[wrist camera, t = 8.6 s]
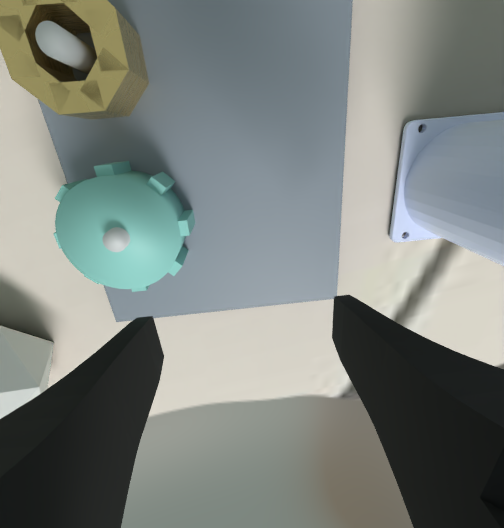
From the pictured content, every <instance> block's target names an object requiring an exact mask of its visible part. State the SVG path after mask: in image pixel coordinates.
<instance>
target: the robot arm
mask: <svg viewBox="0 0 504 528" xmlns="http://www.w3.org/2000/svg"><path fill="white" fill-rule="evenodd" d="M420 125H422V127H423V128H422V131H421V132H420V133H419V131H418V128H419V126H420ZM404 232H406V235H405V236H404V237H402V234H403V233H404ZM435 238H444V239H446V240H448V241H450V242H453V243H455V244H457V245H459V246H461V247H463V248H465V249H468V250H470V251H472V252H474V253H476V254H478V255H481V256H483V257H485V258H487V259H489V260H491V261H493V262H496V263H498V264H500V265H502V266H504V112H498V113H487V114H476V115H465V116H454V117H443V118H432V119H421V120H412V121H409V122H408V123H407V124H406V125H405V126H404V130H403V137H402V144H401V152H400V160H399V167H398V175H397V182H396V190H395V197H394V205H393V213H392V220H391V228H390V239H391V240H392V241H394V242H406V241H416V240H425V239H435ZM332 338H333V341H334V344H335V347H336V350H337V352H338V355H339V358H340V360H341V362H342V364H343V366H344V368H345V370H346V372H347V374H348V376H349V378H350V380H351V381H352V383H353V385H354V387H355V389H356V391H357V393H358V395H359V397H360V398H361V400H362V402H363V404H364V406H365V408H366V410H367V412H368V414H369V416H370V418H371V420H372V422H373V424H374V426H375V429H376V431H377V434H378V436H379V438H380V441H381V443H382V446H383V448H384V451H385V453H386V456H387V458H388V460H389V463H390V466H391V468H392V471H393V473H394V476H395V479H396V481H397V484H398V486H399V489H400V492H401V494H402V497H403V500H404V503H405V505H406V508H407V510H408V513H409V516H410V519H411V522H412V524H413V527H414V528H504V369H500V368H498V367H495V366H492V365H489V364H487V363H484V362H481V361H479V360H476V359H473V358H470V357H468V356H465V355H463V354H460V353H458V352H455V351H453V350H451V349H449V348H446V347H444V346H442V345H440V344H437V343H435V342H433V341H431V340H429V339H427V338H425V337H422V336H421V335H419V334H417V333H415V332H413V331H411V330H409V329H407V328H405V327H403V326H402V325H400V324H398V323H396V322H394V321H393V320H391V319H389V318H388V317H386V316H384V315H382V314H381V313H379V312H377V311H376V310H374V309H373V308H371V307H369V306H368V305H366V304H364V303H363V302H361V301H359V300H358V299H356V298H354V297H352V296H350V295H344V296H335V297H334V311H333V331H332ZM163 359H164V355H163V351H162V348H161V344H160V340H159V337H158V333H157V330H156V326H155V323H154V319H153V316H147V317H138V318H136V319H134V320H133V321H132V322H131V323H129V324H128V325H127V326H126V327H125V328H123V329H122V330H121V331H120V332H119V333H118V334H117V335H115V336H114V337H113V338H112V339H111V340H110V341H108V342H107V343H106V344H105V345H104V346H103V347H101V348H100V349H99V350H98V351H97V352H96V353H94V354H93V355H92V356H91V357H89V358H88V359H87V360H85V361H84V362H83V363H82V364H80V365H79V366H78V367H77V368H75V369H74V370H73V371H72V372H70V373H69V374H68V375H66V376H65V377H64V378H62V379H61V380H60V381H58V382H57V383H55V384H54V385H52V386H51V387H50V388H48V389H47V390H45V391H44V392H42V393H41V394H39V395H38V396H36V397H35V398H33V399H32V400H30V401H29V402H27V403H25V404H24V405H22V406H20V407H19V408H17V409H16V410H14V411H12V412H11V413H9V414H7V415H6V416H4V417H3V418H1V419H0V528H121V523H122V518H123V514H124V509H125V503H126V499H127V494H128V489H129V484H130V480H131V475H132V471H133V466H134V462H135V458H136V453H137V450H138V446H139V443H140V439H141V436H142V433H143V430H144V427H145V424H146V421H147V418H148V415H149V412H150V409H151V406H152V403H153V400H154V396H155V393H156V390H157V387H158V384H159V380H160V375H161V370H162V365H163Z"/></svg>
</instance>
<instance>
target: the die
mask: <svg viewBox="0 0 504 528" xmlns="http://www.w3.org/2000/svg"><path fill="white" fill-rule="evenodd" d="M53 345H54V342H51V341H48V340H45V339H41V338H38V337H35V336H32V335H29V334H26V333H22V332H19V331H16V330H13V329H10V328H6V327H3V326H0V419H1V418H3V417H4V416H6V415H7V414H9V413H11V412H12V411H14V410H16V409H17V408H19V407H20V406H22V405H24V404H25V403H27V402H29V401H30V400H32V399H33V398H35V397H36V396H38V395H39V394H41V393H42V392H44V391H45V390H47V388H48V381H49V374H50V367H51V360H52V353H53Z"/></svg>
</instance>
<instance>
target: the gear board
mask: <svg viewBox="0 0 504 528" xmlns="http://www.w3.org/2000/svg"><path fill="white" fill-rule="evenodd" d="M108 1H109V2H110V3H111V4H112V5H113V6H114V7H115V8H116V9H117V10H118V11H119V13H120V14H121V15H122V16H123V17H124V18H125V19H126V20H127V22H128V23H129V24H130V25H131V26H132V27H133V28H134V30H135V31H136V32H137V33H138V34H139V35H140V39H141V44H142V49H143V54H144V59H145V64H146V69H147V74H148V80H149V85H148V86H147V88H146V90H145V91H144V93H143V95H142V96H141V98H140V100H139V101H138V103H137V104H136V106H135V108H134V109H133V111H132V113H131V114H130V116H128V117H116V118H104V119H85V118H78V117H71V116H65V115H59V114H57V113H56V112H55V111H53V110H52V109H51V108H49V107H48V106H47V105H46V104H44V103H43V102H42V101H40V100H39V99H38V101H39V104H40V106H41V109H42V112H43V115H44V118H45V121H46V123H47V126H48V129H49V132H50V135H51V138H52V140H53V143H54V146H55V149H56V152H57V155H58V157H59V160H60V163H61V166H62V169H63V172H64V174H65V177H66V180H67V183H68V184H65V185H62V187H61V189H60V190H59V192H58V194H57V196H56V197H55V199H56V200H58V201H59V202H60V204H59V206H58V210H57V213H56V220H55V225H56V232H55V233H54V236H55V238H56V241H57V243H58V246H59V248H62V250H63V252H64V254H65V255H66V257H67V258H68V259H69V261H70V262H71V263H72V264H73V265H74V266H75V267H76V268H77V269H78V270H79V271H80V272H81V273H83V274H84V276H85V277H87V278H88V279H90V280H92V281H94V282H95V283H97V284H99V283H100V284H103V285H104V288H105V291H106V294H107V296H108V299H109V302H110V305H111V308H112V311H113V313H114V316H115V319H116V322H121V321H130V320H134V319H136V318H138V317H147V316H153V318H159V317H168V316H177V315H187V314H196V313H205V312H215V311H224V310H233V309H243V308H252V307H262V306H271V305H280V304H290V303H299V302H308V301H318V300H327V299H334V297H335V296H337V284H338V265H339V246H340V227H341V208H342V190H343V171H344V152H345V133H346V114H347V95H348V77H349V58H350V39H351V20H352V1H353V0H108ZM35 35H36V41H37V43H38V46H39V47H40V49H41V50H42V51H43V52H44V53H45V54H46V55H47V56H49V57H51V58H53V59H56V60H58V61H60V62H62V63H64V64H67V65H69V66H71V67H72V70H73V73H74V77H75V79H76V80H78V81H85V80H86V78H87V76H88V74H89V73H90V71H91V69H92V67H93V65H94V63H95V61H96V60H97V54H96V50H95V46H94V43H93V39H92V35H91V33H78V34H77V36H74V35H73V34H71V33H70V32H68V31H67V30H65V29H64V28H62V27H60V26H59V25H57V24H56V23H54V22H52V21H43V22H41V23H40V24H39V25H38V26H37V28H36V33H35Z"/></svg>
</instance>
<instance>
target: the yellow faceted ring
mask: <svg viewBox="0 0 504 528" xmlns="http://www.w3.org/2000/svg"><path fill="white" fill-rule="evenodd" d="M43 21H52V22H54V23H56V24H57V25H59V26H60V27H62V28H64V29H65V30H67V31H68V32H70V33H71V34H73V35H74V36H77V34H78V33H91V35H92V39H93V43H94V46H95V50H96V54H97V60H96V61H95V63H94V65H93V67H92V69H91V71H90V73H89V74H88V76H87V78H86V80H85V81H78V80H76V79H75V77H74V73H73V70H72V67H71V66H69V65H67V64H64V63H62V62H60V61H58V60H56V59H53V58H51V57H49V56H47V55H46V54H45V53H44V52H43V51H42V50H41V49H40V47H39V46H38V43H37V41H36V35H35V33H36V28H37V26H38V25H39V24H40V23H41V22H43ZM0 49H1V52H2V54H3V57H4V60H5V62H6V65H7V68H8V70H9V73H10V76H11V78H12V80H14V81H15V82H16V83H18V84H19V85H20V86H22V87H23V88H24V89H26V90H27V91H28V92H30V93H31V94H32V95H34V96H35V97H36V98H38V99H39V100H40V101H42V102H43V103H44V104H46V105H47V106H48V107H49V108H51V109H52V110H53V111H55V112H56V113H57V114H59V115H65V116H71V117H78V118H85V119H104V118H116V117H128V116H130V114H131V113H132V111H133V109H134V108H135V106H136V104H137V103H138V101H139V100H140V98H141V96H142V95H143V93H144V91H145V90H146V88H147V86H148V85H149V80H148V74H147V69H146V64H145V59H144V54H143V49H142V44H141V39H140V35H139V34H138V33H137V32H136V31H135V30H134V28H133V27H132V26H131V25H130V24H129V23H128V22H127V20H126V19H125V18H124V17H123V16H122V15H121V14H120V13H119V11H118V10H117V9H116V8H115V7H114V6H113V5H112V4H111V3H110V2H109V1H108V0H0Z"/></svg>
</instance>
